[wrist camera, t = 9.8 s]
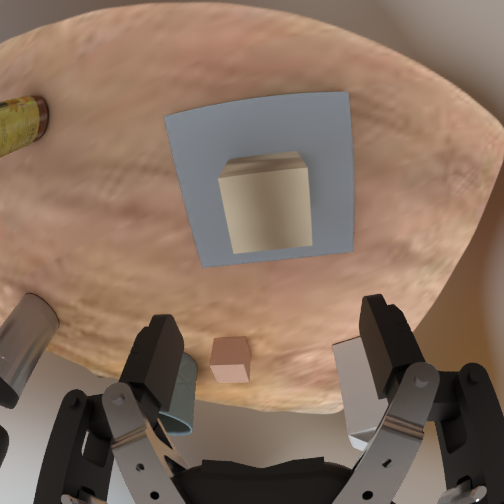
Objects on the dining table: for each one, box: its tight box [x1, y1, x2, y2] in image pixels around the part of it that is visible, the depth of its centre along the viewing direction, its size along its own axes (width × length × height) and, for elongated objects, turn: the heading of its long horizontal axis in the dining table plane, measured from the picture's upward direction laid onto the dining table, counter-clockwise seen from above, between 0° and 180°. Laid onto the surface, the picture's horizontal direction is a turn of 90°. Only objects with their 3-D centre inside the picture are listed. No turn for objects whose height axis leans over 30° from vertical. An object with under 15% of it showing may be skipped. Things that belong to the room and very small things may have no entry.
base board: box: [164, 92, 354, 268], centre depth 25 cm, size 16×16×2 cm
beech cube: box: [218, 151, 312, 254], centre depth 22 cm, size 6×6×6 cm
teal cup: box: [158, 352, 197, 436], centre depth 37 cm, size 10×10×12 cm
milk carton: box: [333, 337, 388, 451], centre depth 31 cm, size 7×7×19 cm
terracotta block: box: [210, 336, 251, 383], centre depth 37 cm, size 5×5×5 cm
